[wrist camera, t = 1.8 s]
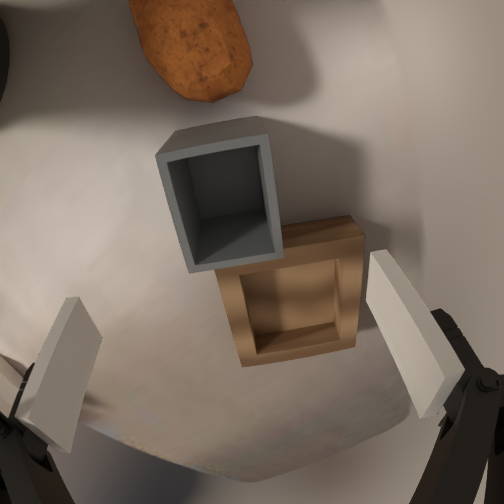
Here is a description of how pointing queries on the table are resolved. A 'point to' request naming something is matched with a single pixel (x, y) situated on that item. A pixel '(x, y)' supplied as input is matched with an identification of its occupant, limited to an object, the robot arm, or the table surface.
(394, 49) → the table surface
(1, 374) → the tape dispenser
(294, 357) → the walnut crate
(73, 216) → the table surface
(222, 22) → the potato
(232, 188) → the grey open box
